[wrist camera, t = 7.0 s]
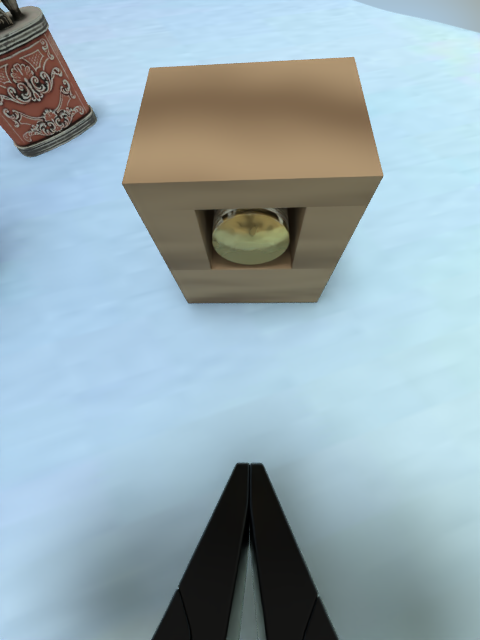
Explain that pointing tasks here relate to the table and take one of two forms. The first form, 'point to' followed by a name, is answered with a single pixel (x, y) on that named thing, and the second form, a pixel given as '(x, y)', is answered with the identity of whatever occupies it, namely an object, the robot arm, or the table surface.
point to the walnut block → (253, 170)
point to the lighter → (37, 85)
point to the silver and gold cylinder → (250, 234)
